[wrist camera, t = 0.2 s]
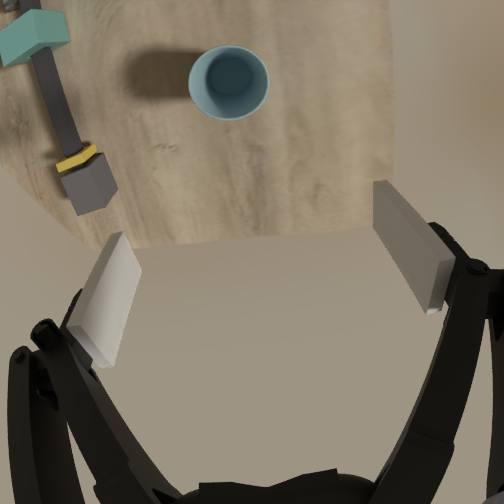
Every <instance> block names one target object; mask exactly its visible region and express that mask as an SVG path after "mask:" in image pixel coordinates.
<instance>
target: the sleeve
mask: <svg viewBox="0 0 504 504" xmlns="http://www.w3.org/2000/svg"><path fill="white" fill-rule="evenodd" d="M68 42H70V39H69V35H68V31H67V27H66V23H65V19H64V15H63V12H59V11H50V10H38V9H30V10H29V11H28V12H26V13H25V14H23V15H22V16H20V17H19V18H18V19H16V20H15V21H13V22H12V23H11V24H9V25H8V26H7V27H5V28H4V29H3V30H2V31H0V54H1V58H2V62H3V66H4V67H6V66H11V65H16V64H21V63H26V62H31V61H33V59H32V55H33V54H34V53H36V52H37V51H39V50H40V49H42V48H44V47H51V50H52V51H53V50H55V49H57V48H59V47H61V46H62V45H64V44H66V43H68Z"/></svg>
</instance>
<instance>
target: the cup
mask: <svg viewBox="0 0 504 504" xmlns="http://www.w3.org/2000/svg"><path fill="white" fill-rule="evenodd" d="M188 89H189V93H190V96H191V99H192V101H193V102H194V104H195V105H196V106H197V108H198V109H199V110H201V111H202V112H203V113H204V114H206V115H208V116H210V117H212V118H215V119H218V120H225V121H231V120H238V119H241V118H244V117H247V116H249V115H250V114H252V113H253V112H255V111H256V110H257V109H258V108H259V107H260V106H261V105H262V103H263V102H264V100H265V98H266V96H267V94H268V90H269V74H268V71H267V68H266V66H265V64H264V63H263V61H262V60H261V59H260V58H259V57H258V56H257V55H256V54H255V53H254V52H252V51H250V50H249V49H246V48H244V47H241V46H236V45H223V46H218V47H215V48H212V49H210V50H208V51H207V52H205V53H204V54H202V55H201V56H200V57H199V58H198V59H197V60H196V62H195V63H194V65H193V66H192V68H191V71H190V74H189V78H188Z"/></svg>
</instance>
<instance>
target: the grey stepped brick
mask: <svg viewBox="0 0 504 504" xmlns="http://www.w3.org/2000/svg"><path fill="white" fill-rule="evenodd" d="M3 4H5V9H6V10H17V9H18V8H19V7H20V1H19V0H3Z"/></svg>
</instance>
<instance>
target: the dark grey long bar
mask: <svg viewBox="0 0 504 504" xmlns="http://www.w3.org/2000/svg"><path fill="white" fill-rule="evenodd" d="M19 1H20V7H21V12H22V15H23V14H25V13H26V12H28V11H29V10H30V9H38V10H42V9H41V4H40V0H19ZM32 59H33V63H34V66H35V70H36V73H37V77H38V80H39V83H40V87H41V90H42V93H43V96H44V99H45V102H46V105H47V108H48V111H49V114H50V117H51V120H52V122H53V125H54V128H55V131H56V133H57V136H58V139H59V141H60V144H61V146H62V149H63V152H64V154H65V158H63V159H62V160H61V161H60V162H58V163H57V164H56V167H57V169H58V171H59V172H62V171H64V170H66V169H69V168H70V169H71V171H74V170H77V169H79V168H82V167H84V166H85V165H86V164H87V163H88V162H89V160H88V159H89V158H90V157H91V156H92V155H93V154H94V153H95V152H97V149H96V146H95V143H94V144H91V145H89V146H86V147H84V148H83V145H82V142H81V140H80V137H79V134H78V132H77V129H76V126H75V123H74V121H73V118H72V115H71V112H70V109H69V106H68V103H67V100H66V97H65V94H64V91H63V88H62V85H61V81H60V78H59V75H58V72H57V68H56V65H55V61H54V58H53V54H52V50H51V47H44V48H42V49H40V50H39V51H37V52H36V53H34V54H33V55H32Z"/></svg>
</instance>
